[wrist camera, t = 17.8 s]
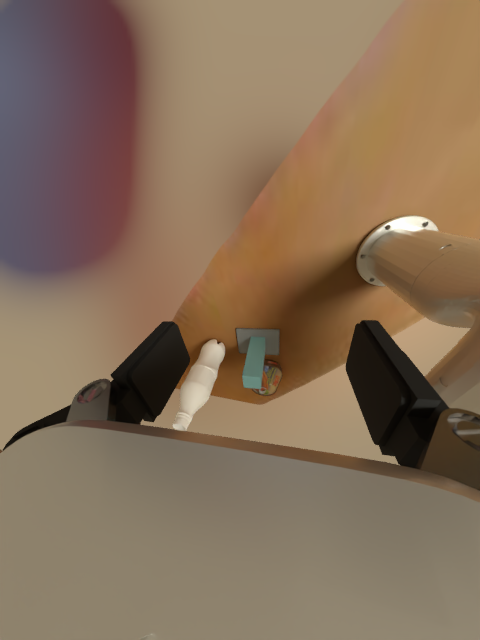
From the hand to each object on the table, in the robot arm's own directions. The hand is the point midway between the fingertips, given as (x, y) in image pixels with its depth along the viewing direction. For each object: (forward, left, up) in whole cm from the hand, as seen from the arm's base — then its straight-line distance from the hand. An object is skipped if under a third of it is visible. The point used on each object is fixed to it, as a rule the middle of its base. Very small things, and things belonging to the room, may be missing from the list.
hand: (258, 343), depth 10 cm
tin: (+7, +40, -32) cm, 52 cm away
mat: (+5, +27, -33) cm, 43 cm away
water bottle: (+18, +30, -33) cm, 48 cm away
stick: (+5, +27, -33) cm, 43 cm away
